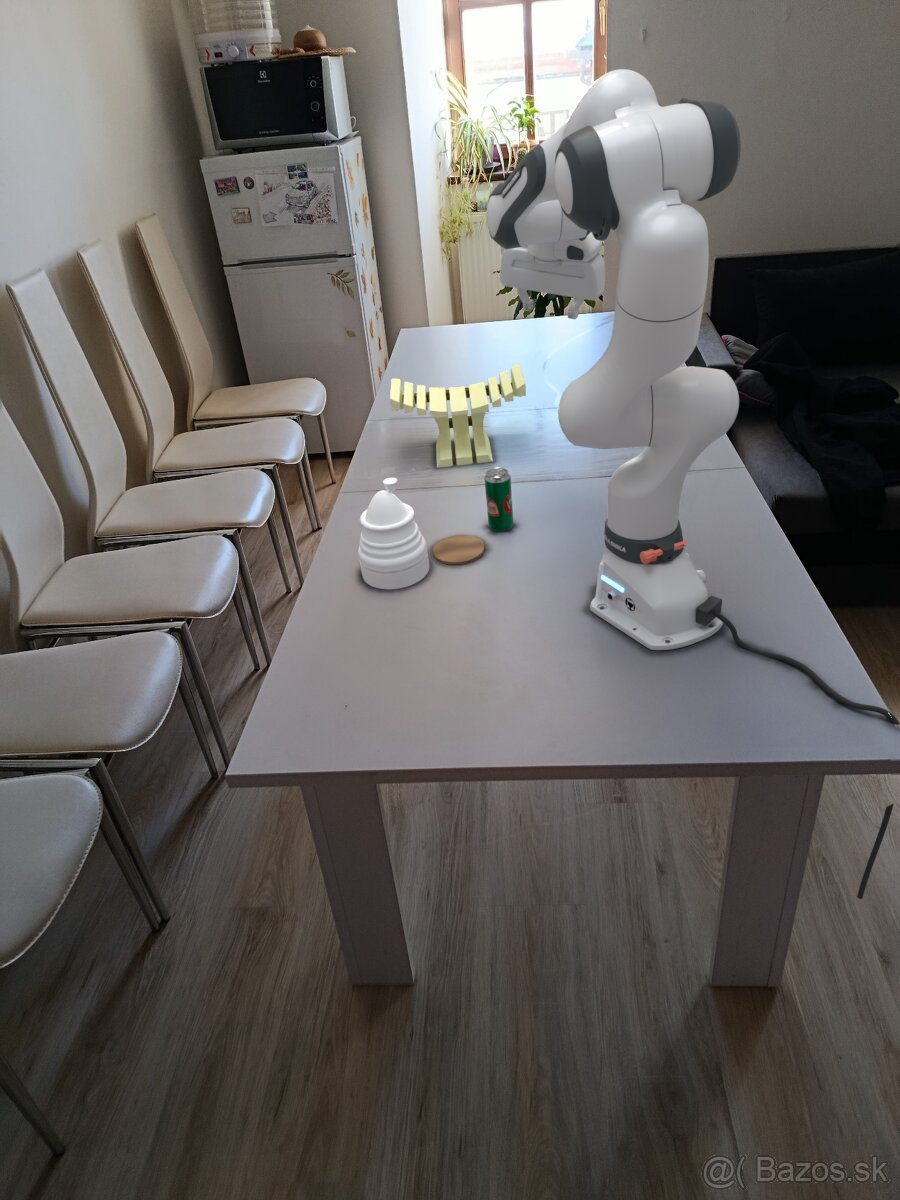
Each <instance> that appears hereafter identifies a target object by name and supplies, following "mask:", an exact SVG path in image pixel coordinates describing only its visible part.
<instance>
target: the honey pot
mask: <svg viewBox="0 0 900 1200" xmlns="http://www.w3.org/2000/svg"><path fill="white" fill-rule="evenodd" d="M382 483H383V487H384V488H385V489H383V490H379V491H377V492H376V493H375V494H374V495H373V496H372V498H371V500H370V502H369V504H368V507H367V508H366V509H365V510H364V511H362V513H361V515H360V517H359V523H360V525H361V526H362V529H361V531H360V536H359V537H360V538H359V546H358V549H357V550H358V551H357V556H358V560H359V567H360V572H361V575H362V579H363V581H364V582H365V583H366V584H367V585H368V586H370V587H373V588H376V589H380V590H397V589H398V590H399V589H404V588H407V587H410V586H412V585H414V584H417V583H419V582H420V581H421V580H423V579H424V578H425V577H426V576H427V575H428V573H429V570H430V559H429V553H428V546H427V541H426V538H425V537H424V535H423V534H422V531H421V529H420V528H419V525H418V524H417V522H416V521H415V520H414V517H415V511H414V508H413V507H412V506H410V505H409V504H407V503H404V502H403V501H401V499H399V498H398V496H397V495H395V494H394V493H393V492H394V491H395V490H396V489H397V488H398V479H397V478H396V477H387V478H385V479H383V480H382Z"/></svg>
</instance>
